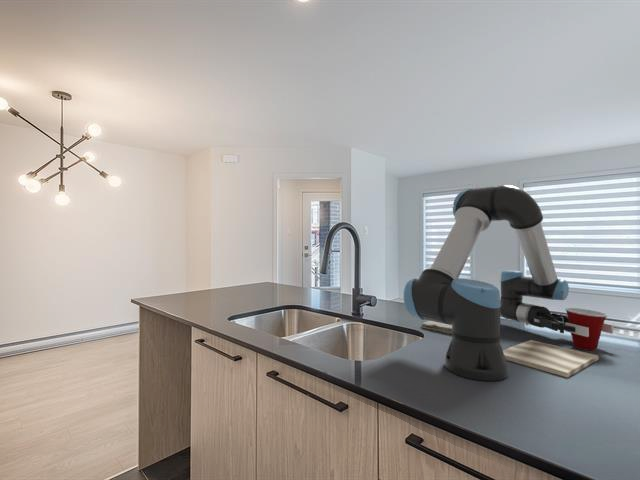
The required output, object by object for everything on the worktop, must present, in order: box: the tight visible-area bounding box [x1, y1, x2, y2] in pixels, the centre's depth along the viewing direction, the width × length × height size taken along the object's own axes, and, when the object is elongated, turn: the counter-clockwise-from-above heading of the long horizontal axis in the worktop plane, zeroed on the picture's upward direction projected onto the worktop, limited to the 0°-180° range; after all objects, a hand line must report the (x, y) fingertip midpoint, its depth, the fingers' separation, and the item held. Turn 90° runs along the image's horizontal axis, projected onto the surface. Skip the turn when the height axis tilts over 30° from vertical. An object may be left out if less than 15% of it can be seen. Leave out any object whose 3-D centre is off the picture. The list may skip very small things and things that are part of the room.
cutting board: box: [502, 339, 600, 378], centre depth 97 cm, size 22×18×1 cm
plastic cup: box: [564, 307, 609, 351], centre depth 107 cm, size 11×11×12 cm
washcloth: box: [420, 320, 452, 335], centre depth 128 cm, size 12×18×3 cm, turn 43°
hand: (600, 330), depth 103 cm, fingers open, 10 cm apart
